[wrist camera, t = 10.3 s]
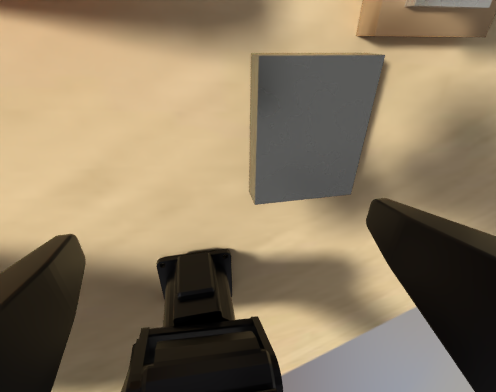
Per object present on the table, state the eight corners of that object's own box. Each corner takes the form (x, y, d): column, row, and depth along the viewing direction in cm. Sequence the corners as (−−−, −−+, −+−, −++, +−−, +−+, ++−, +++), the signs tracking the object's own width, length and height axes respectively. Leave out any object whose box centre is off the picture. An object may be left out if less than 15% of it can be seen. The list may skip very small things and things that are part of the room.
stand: (338, 182, 23) (350, 194, 22) (249, 191, 22) (254, 204, 20) (366, 53, 18) (385, 55, 16) (251, 53, 17) (258, 55, 15)
